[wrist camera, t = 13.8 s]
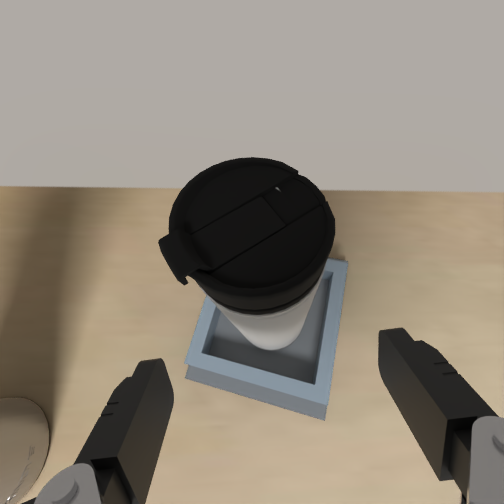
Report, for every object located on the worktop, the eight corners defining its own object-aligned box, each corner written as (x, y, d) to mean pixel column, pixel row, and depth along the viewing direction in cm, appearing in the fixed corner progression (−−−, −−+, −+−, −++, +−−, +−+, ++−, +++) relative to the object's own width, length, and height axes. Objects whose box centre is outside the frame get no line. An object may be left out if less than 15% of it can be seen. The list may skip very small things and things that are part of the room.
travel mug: (225, 311, 29) (128, 198, 11) (278, 275, 30) (272, 117, 12) (259, 366, 27) (208, 343, 8) (316, 326, 27) (382, 225, 9)
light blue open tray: (187, 378, 28) (175, 378, 25) (231, 242, 33) (225, 227, 30) (323, 419, 25) (329, 425, 22) (345, 264, 31) (352, 251, 28)
